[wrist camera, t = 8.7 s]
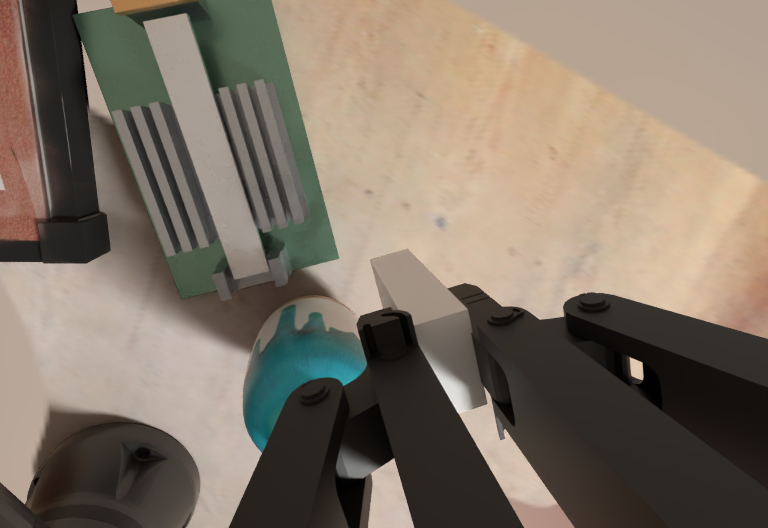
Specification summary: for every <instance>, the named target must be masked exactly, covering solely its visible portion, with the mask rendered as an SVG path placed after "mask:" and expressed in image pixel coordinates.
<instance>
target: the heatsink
mask: <svg viewBox="0 0 768 528" xmlns="http://www.w3.org/2000/svg"><path fill="white" fill-rule="evenodd" d="M111 3H112V6H113V7H111V8H106V9H101V10H96V11H90V12H85V13H80V14H75V15H72V16H73V19H74V21H75V24H76V27H77V29H78V32H79V34H80V37H81V40H82V42H83V45H84V47H85V50H86V53H87V55H88V58H89V60H90V63H91V66H92V68H93V71H94V73H95V76H96V78H97V81H98V84H99V86H100V89H101V91H102V94H103V97H104V99H105V102H106V104H107V107H108V110H109V112H110V115H111V118H112V120H113V123H114V125H115V128H116V131H117V133H118V136H119V138H120V141H121V144H122V146H123V149H124V151H125V154H126V156H127V159H128V162H129V164H130V167H131V169H132V172H133V175H134V177H135V180H136V182H137V185H138V188H139V190H140V193H141V195H142V198H143V201H144V203H145V206H146V208H147V211H148V214H149V216H150V219H151V221H152V224H153V227H154V229H155V232H156V234H157V237H158V240H159V242H160V245H161V247H162V250H163V253H164V255H165V258H166V260H167V263H168V266H169V268H170V271H171V273H172V276H173V279H174V281H175V284H176V286H177V289H178V291H179V294H180V297H181V299H185V298H189V297H193V296H197V295H200V294H204V293H208V292H212V291H216V290H217V292H218V295H219V297H220V300H221V302H223V301H227V300H231V299H232V298H233V296H234V294H235V292H236V290H239V289H242V288H246V287H250V286H254V285H258V284H262V283H265V282H269V281H273V280H274V281H275V285H276V287H280V286H284V285H287V282H288V276H291V272H292V271H293V270H296V269H300V268H304V267H308V266H312V265H316V264H320V263H323V262H327V261H331V260H335V259H339V256H338V252H337V248H336V245H335V241H334V237H333V233H332V229H331V226H330V222H329V218H328V214H327V210H326V207H325V203H324V199H323V195H322V191H321V188H320V184H319V180H318V176H317V172H316V169H315V165H314V161H313V157H312V153H311V150H310V146H309V142H308V138H307V134H306V131H305V127H304V123H303V119H302V115H301V112H300V108H299V104H298V100H297V96H296V93H295V89H294V85H293V81H292V77H291V74H290V70H289V66H288V62H287V58H286V55H285V51H284V47H283V43H282V39H281V36H280V32H279V28H278V24H277V20H276V17H275V13H274V9H273V5H272V1H271V0H111ZM185 13H186V14H188V15H189V18H190V21H191V24H192V27H193V30H194V33H195V36H196V39H197V42H198V45H199V49H200V52H201V55H202V58H203V61H204V64H205V67H206V70H207V73H208V77H209V80H210V83H211V86H212V89H213V92H214V95H215V98H216V101H217V104H218V108H219V111H220V114H221V117H222V120H223V123H224V126H225V129H226V132H227V135H228V139H229V142H230V145H231V148H232V151H233V154H234V157H235V160H236V163H237V167H238V170H239V173H240V176H241V179H242V182H243V185H244V188H245V191H246V194H247V198H248V201H249V204H250V207H251V210H252V213H253V216H254V219H255V222H256V226H257V229H258V232H259V235H260V238H261V241H262V244H263V247H264V250H265V253H266V257H267V260H268V263H269V266H270V271H267V272H263V273H259V274H255V275H251V276H247V277H244V278H240V279H236V280H234V277H233V274H232V271H231V269H230V266H229V263H228V260H227V257H226V255H225V252H224V249H223V246H222V243H221V240H220V238H219V235H218V232H217V229H216V226H215V224H214V221H213V218H212V215H211V212H210V209H209V207H208V204H207V201H206V198H205V195H204V193H203V190H202V187H201V184H200V181H199V178H198V176H197V173H196V170H195V167H194V164H193V162H192V159H191V156H190V153H189V150H188V147H187V145H186V142H185V139H184V136H183V133H182V131H181V128H180V125H179V122H178V119H177V117H176V114H175V111H174V108H173V105H172V102H171V100H170V97H169V94H168V91H167V88H166V86H165V83H164V80H163V77H162V74H161V71H160V69H159V66H158V63H157V60H156V57H155V55H154V52H153V49H152V46H151V43H150V40H149V38H148V35H147V32H146V29H145V26H144V24H143V22H144V21H149V20H154V19H159V18H164V17H170V16H175V15H180V14H185Z"/></svg>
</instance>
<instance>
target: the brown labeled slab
mask: <svg viewBox="0 0 768 528" xmlns="http://www.w3.org/2000/svg"><path fill="white" fill-rule="evenodd" d="M75 14H78V6H77V0H0V262H43V263H88V262H90V261H92V260H94V259H96V258H98V257H100V256H101V255H103V254H105V253H107V252H109V251H111V249H110V240H109V232H108V223H107V215H100V214H99V205H98V197H97V188H96V180H95V172H94V163H93V155H92V146H91V138H90V130H89V121H88V113H87V107H88V108H89V100H88V91H87V83H86V74H85V66H84V57H83V49H82V40H81V37H80V34H79V32H78V29H77V27H76V24H75V21H74V19H73V16H72V15H75Z"/></svg>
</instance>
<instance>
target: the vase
mask: <svg viewBox="0 0 768 528" xmlns="http://www.w3.org/2000/svg"><path fill="white" fill-rule="evenodd" d="M358 320H359V319H358V318H357V316H356V315H355V314H354V313H353V312H352V311H351V310H350V309H349V308H348V307H346V306H345V305H344V304H342V303H341V302H339V301H337V300H335V299H332V298H329V297H325V296H320V295H308V296H301V297H298V298H294V299H292V300H290V301H287V302H286V303H284V304H283V305H281V306H280V307H278V308H277V309H276V310H275V311H274V312H273V313H272V314H271V315H270V316H269V317H268V318H267V320H266V321H265V323H264V325H263V326H262V328H261V330H260V332H259V334H258V336H257V338H256V341H255V343H254V346H253V349H252V351H251V355H250V358H249V362H248V366H247V371H246V376H245V381H244V388H243V415H244V421H245V425H246V428H247V431H248V433H249V436H250V437H251V439H252V441H253V442H254V444H255V445H256V446H257V448H258V449H259V450H260V451H261V452H263V450H264V448H265V446H266V444H267V441H268V439H269V437H270V435H271V432H272V430H273V428H274V426H275V424H276V421H277V419H278V417H279V415H280V412H281V410H282V408H283V406H284V404H285V401H286V399H287V398H288V396H289V395H290V394H291V392H293V391H294V390H295V389H296V388H298V387H299V386H300V385H302V384H303V383H307V381H310V380H315V379H318V378H326V377H331V378H336V379H338V380H339V381H340V382H342V384H343V386H344V385H346V384H348V383H350V382H351V381H353V380H354V379H356V378H357V377H358V376H359V375H361V374H362V372H363V371H364V370H365V368H366V365H367V361H366V358H365V354H364V351H363V347H362V344H361V340H360V337H359V334H358V329H357V325H356V324H357V322H358Z"/></svg>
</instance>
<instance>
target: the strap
mask: <svg viewBox="0 0 768 528" xmlns="http://www.w3.org/2000/svg"><path fill="white" fill-rule="evenodd" d="M143 24H144V26H145V29H146V32H147V35H148V38H149V40H150V43H151V46H152V49H153V52H154V55H155V57H156V60H157V63H158V66H159V69H160V71H161V74H162V77H163V80H164V83H165V86H166V88H167V91H168V94H169V97H170V100H171V102H172V105H173V108H174V111H175V114H176V117H177V119H178V122H179V125H180V128H181V131H182V133H183V136H184V139H185V142H186V145H187V147H188V150H189V153H190V156H191V159H192V162H193V164H194V167H195V170H196V173H197V176H198V178H199V181H200V184H201V187H202V190H203V193H204V195H205V198H206V201H207V204H208V207H209V209H210V212H211V215H212V218H213V221H214V224H215V226H216V229H217V232H218V235H219V238H220V240H221V243H222V246H223V249H224V252H225V255H226V257H227V260H228V263H229V266H230V269H231V271H232V274H233V277H234V280H236V279H240V278H244V277H247V276H251V275H255V274H259V273H263V272H267V271H270V266H269V263H268V260H267V257H266V253H265V250H264V247H263V244H262V241H261V238H260V235H259V232H258V229H257V226H256V222H255V219H254V216H253V213H252V210H251V207H250V204H249V201H248V198H247V194H246V191H245V188H244V185H243V182H242V179H241V176H240V173H239V170H238V167H237V163H236V160H235V157H234V154H233V151H232V148H231V145H230V142H229V139H228V135H227V132H226V129H225V126H224V123H223V120H222V117H221V114H220V111H219V108H218V104H217V101H216V98H215V95H214V92H213V89H212V86H211V83H210V80H209V77H208V73H207V70H206V67H205V64H204V61H203V58H202V55H201V52H200V49H199V45H198V42H197V39H196V36H195V33H194V30H193V27H192V24H191V21H190V18H189V15H188V14H186V13H185V14H180V15H175V16H170V17H164V18H159V19H154V20H149V21H144V22H143Z"/></svg>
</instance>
